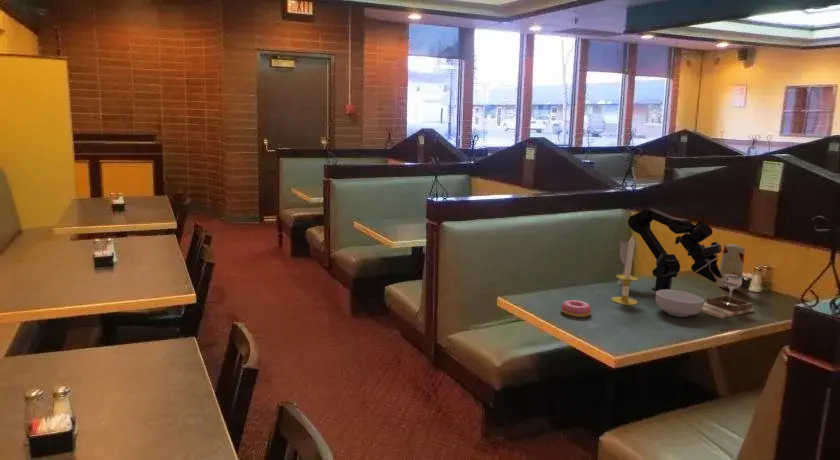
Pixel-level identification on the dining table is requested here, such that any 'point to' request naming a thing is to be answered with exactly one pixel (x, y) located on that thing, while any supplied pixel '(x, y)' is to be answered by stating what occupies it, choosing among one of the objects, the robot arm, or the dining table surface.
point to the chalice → (624, 256)
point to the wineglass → (732, 283)
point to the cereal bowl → (679, 302)
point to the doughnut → (576, 308)
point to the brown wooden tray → (726, 306)
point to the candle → (627, 278)
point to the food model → (731, 262)
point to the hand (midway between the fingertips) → (718, 279)
